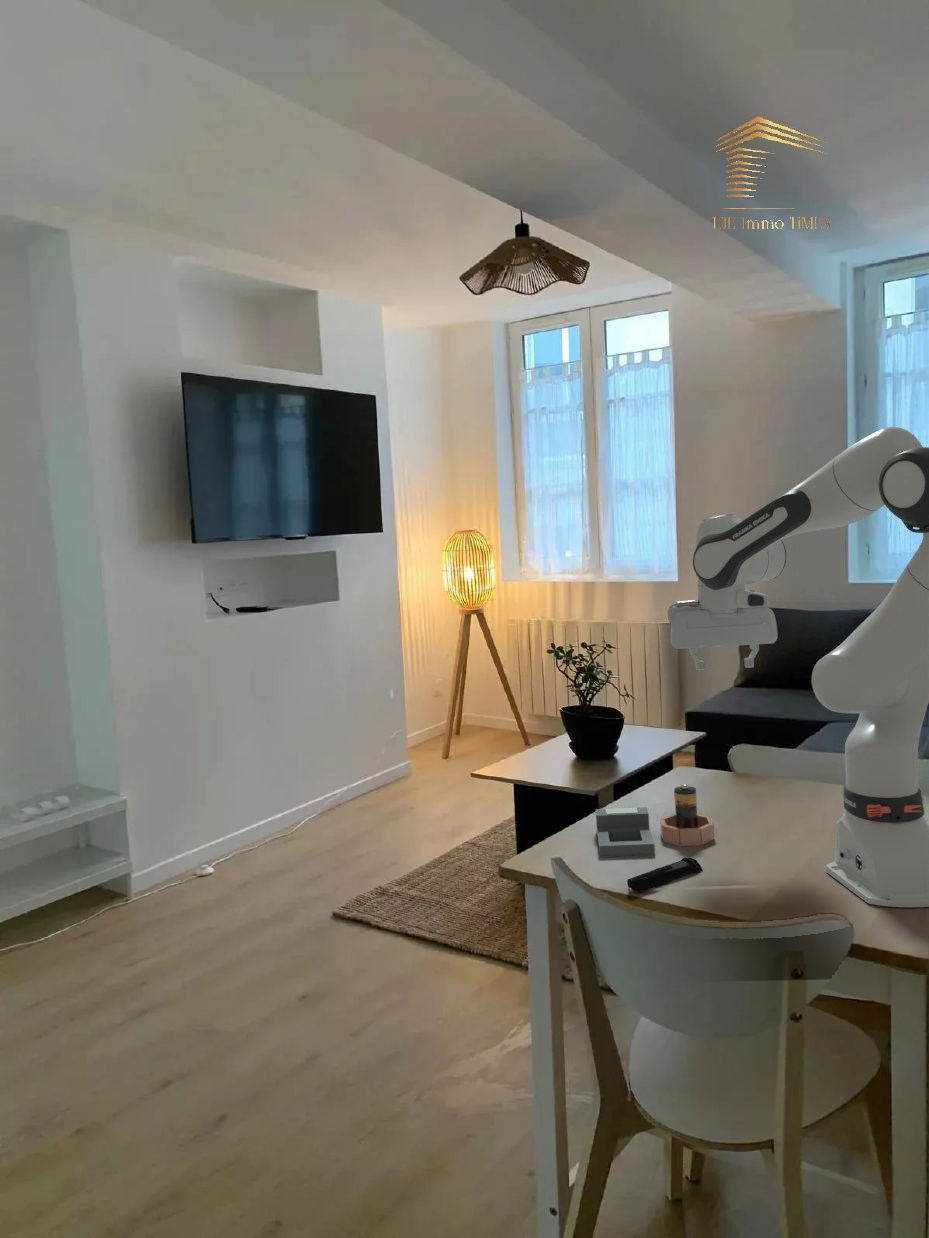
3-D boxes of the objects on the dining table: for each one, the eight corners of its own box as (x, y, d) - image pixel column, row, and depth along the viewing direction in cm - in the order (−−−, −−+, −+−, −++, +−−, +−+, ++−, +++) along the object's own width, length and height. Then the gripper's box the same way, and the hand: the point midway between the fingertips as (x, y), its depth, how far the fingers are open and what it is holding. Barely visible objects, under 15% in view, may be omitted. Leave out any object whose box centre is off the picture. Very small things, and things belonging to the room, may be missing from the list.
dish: (717, 846, 175) (716, 828, 174) (664, 848, 176) (663, 830, 175) (708, 829, 184) (708, 812, 184) (659, 831, 185) (658, 814, 185)
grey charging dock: (655, 857, 172) (653, 829, 171) (600, 859, 173) (598, 831, 172) (647, 831, 185) (646, 806, 185) (597, 833, 187) (595, 808, 186)
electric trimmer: (622, 893, 158) (621, 875, 157) (689, 868, 166) (688, 851, 165) (637, 900, 155) (636, 881, 154) (705, 875, 162) (704, 857, 162)
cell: (699, 837, 177) (697, 787, 177) (677, 838, 178) (675, 788, 177) (696, 830, 182) (694, 781, 181) (675, 831, 182) (672, 782, 181)
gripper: (669, 603, 181) (672, 674, 182) (778, 596, 179) (780, 668, 180) (665, 600, 187) (669, 669, 189) (770, 594, 185) (773, 663, 187)
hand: (724, 668), depth 184 cm, fingers open, 8 cm apart
